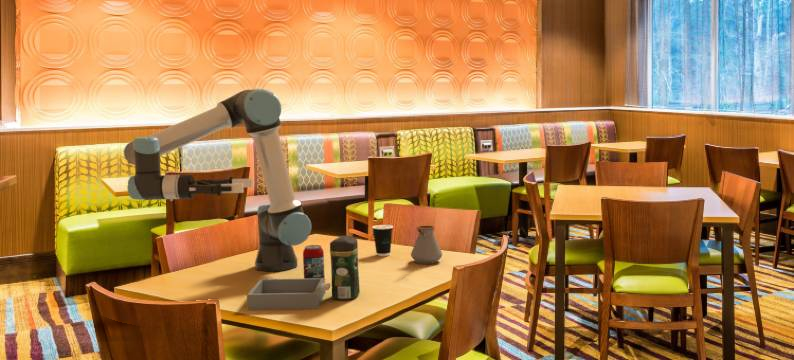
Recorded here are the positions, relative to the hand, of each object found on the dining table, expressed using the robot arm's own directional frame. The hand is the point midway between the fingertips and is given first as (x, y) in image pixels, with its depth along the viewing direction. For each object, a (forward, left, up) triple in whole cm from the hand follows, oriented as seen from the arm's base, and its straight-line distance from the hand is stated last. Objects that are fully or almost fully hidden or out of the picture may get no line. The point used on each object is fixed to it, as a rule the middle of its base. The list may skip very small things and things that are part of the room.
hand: (248, 185), depth 233 cm
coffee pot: (-35, +54, -34) cm, 73 cm away
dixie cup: (-53, +39, -34) cm, 74 cm away
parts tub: (+10, +14, -34) cm, 38 cm away
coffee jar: (+7, +30, -34) cm, 46 cm away
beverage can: (-12, +18, -34) cm, 40 cm away
